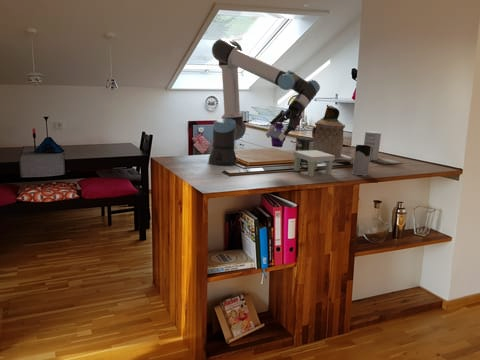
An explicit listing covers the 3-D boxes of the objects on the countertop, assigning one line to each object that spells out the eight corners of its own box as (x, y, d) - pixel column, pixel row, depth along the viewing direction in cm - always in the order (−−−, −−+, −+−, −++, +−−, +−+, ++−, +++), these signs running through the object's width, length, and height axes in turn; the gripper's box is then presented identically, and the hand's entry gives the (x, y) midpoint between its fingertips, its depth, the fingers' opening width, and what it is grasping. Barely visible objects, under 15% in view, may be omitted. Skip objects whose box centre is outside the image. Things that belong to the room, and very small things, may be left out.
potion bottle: (289, 146, 232) (291, 123, 228) (278, 148, 225) (281, 124, 222) (275, 143, 237) (277, 120, 234) (265, 145, 231) (267, 121, 228)
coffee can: (299, 164, 255) (301, 139, 252) (291, 160, 265) (293, 136, 261) (315, 164, 259) (318, 139, 256) (306, 160, 268) (309, 136, 265)
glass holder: (348, 173, 241) (351, 145, 237) (362, 170, 251) (365, 143, 247) (362, 176, 235) (366, 148, 231) (376, 173, 245) (380, 146, 241)
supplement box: (377, 160, 280) (381, 133, 276) (361, 159, 283) (365, 132, 278) (377, 158, 289) (381, 131, 284) (362, 156, 291) (366, 130, 287)
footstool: (309, 176, 228) (311, 157, 226) (292, 169, 241) (293, 151, 238) (332, 174, 236) (335, 155, 233) (314, 168, 248) (316, 150, 246)
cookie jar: (352, 160, 276) (359, 107, 268) (315, 160, 270) (320, 105, 262) (335, 152, 299) (340, 103, 291) (299, 152, 293) (304, 101, 285)
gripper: (317, 113, 229) (291, 146, 222) (286, 107, 244) (262, 138, 238) (311, 102, 224) (285, 136, 218) (280, 97, 239) (255, 129, 233)
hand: (273, 137), depth 228 cm, fingers closed on potion bottle, 8 cm apart
